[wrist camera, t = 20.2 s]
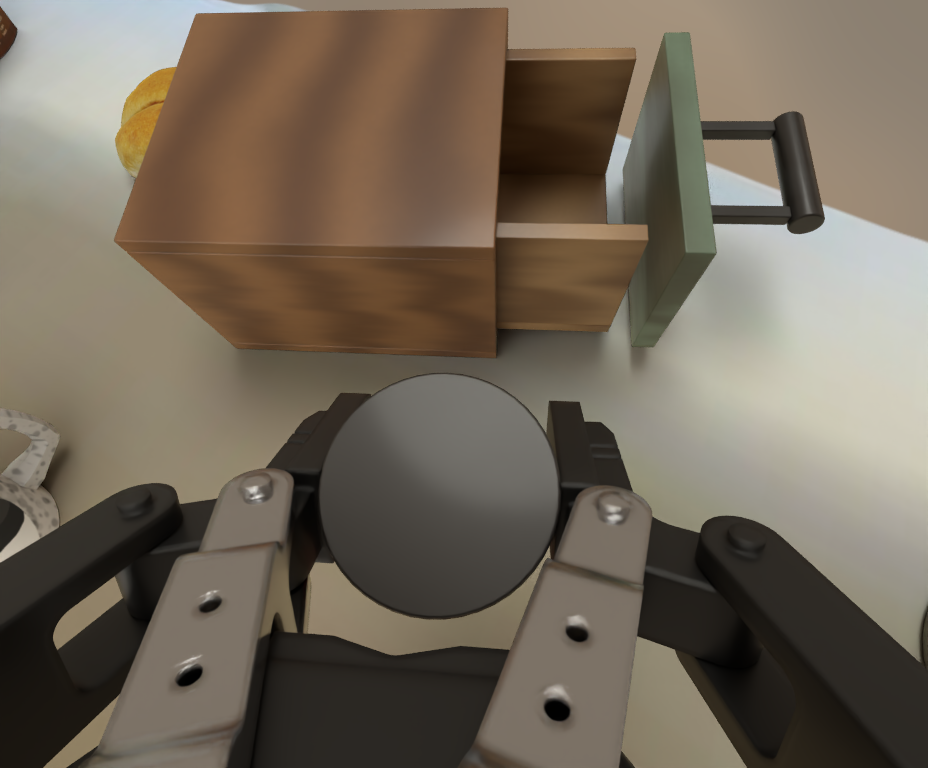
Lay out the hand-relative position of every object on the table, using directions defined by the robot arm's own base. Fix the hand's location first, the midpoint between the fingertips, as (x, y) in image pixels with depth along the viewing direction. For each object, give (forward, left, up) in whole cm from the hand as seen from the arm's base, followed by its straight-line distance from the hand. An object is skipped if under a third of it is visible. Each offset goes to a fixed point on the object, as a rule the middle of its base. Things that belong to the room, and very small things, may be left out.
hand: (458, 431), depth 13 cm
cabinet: (+7, -15, -15) cm, 22 cm away
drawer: (-5, -15, -14) cm, 21 cm away
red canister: (0, +2, -4) cm, 5 cm away
